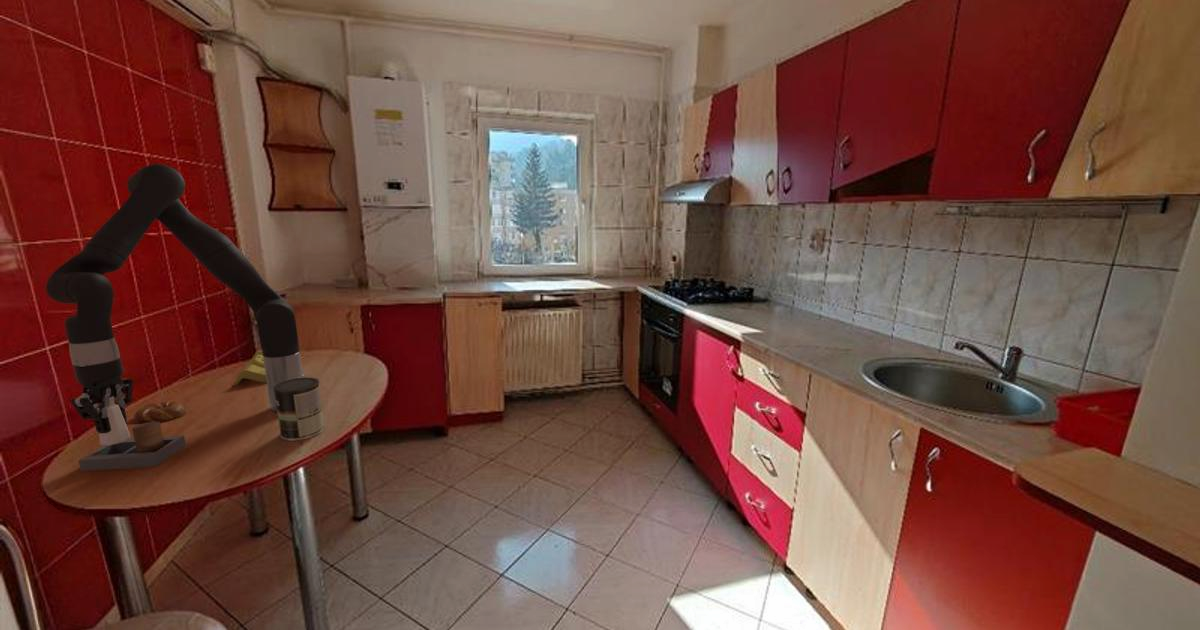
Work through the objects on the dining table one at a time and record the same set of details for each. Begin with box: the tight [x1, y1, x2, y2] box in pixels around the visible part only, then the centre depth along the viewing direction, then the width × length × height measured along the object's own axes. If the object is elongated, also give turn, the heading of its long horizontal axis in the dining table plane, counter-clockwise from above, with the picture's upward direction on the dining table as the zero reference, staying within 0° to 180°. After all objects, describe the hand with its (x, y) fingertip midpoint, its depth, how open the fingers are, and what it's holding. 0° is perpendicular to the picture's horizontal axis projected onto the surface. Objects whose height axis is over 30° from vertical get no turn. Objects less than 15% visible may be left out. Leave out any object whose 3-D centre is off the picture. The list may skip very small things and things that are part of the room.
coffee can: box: [273, 377, 325, 442], centre depth 126 cm, size 10×10×14 cm
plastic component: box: [233, 349, 267, 386], centre depth 169 cm, size 20×7×10 cm
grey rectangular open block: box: [78, 435, 187, 472], centre depth 112 cm, size 15×10×4 cm, turn 99°
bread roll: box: [133, 401, 187, 425], centre depth 136 cm, size 12×11×4 cm
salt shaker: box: [97, 396, 131, 446], centre depth 109 cm, size 5×5×11 cm
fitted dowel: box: [131, 422, 165, 453], centre depth 111 cm, size 5×5×8 cm
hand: (112, 427), depth 110 cm, fingers closed on salt shaker, 3 cm apart
